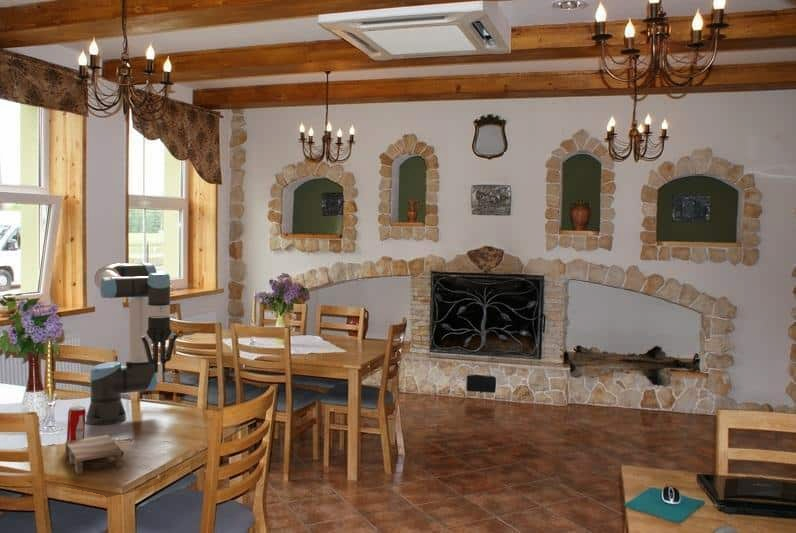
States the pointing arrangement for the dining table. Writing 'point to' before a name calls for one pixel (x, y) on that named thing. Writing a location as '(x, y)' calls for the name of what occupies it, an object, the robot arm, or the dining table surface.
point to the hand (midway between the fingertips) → (159, 380)
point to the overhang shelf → (91, 451)
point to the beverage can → (76, 423)
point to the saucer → (101, 461)
